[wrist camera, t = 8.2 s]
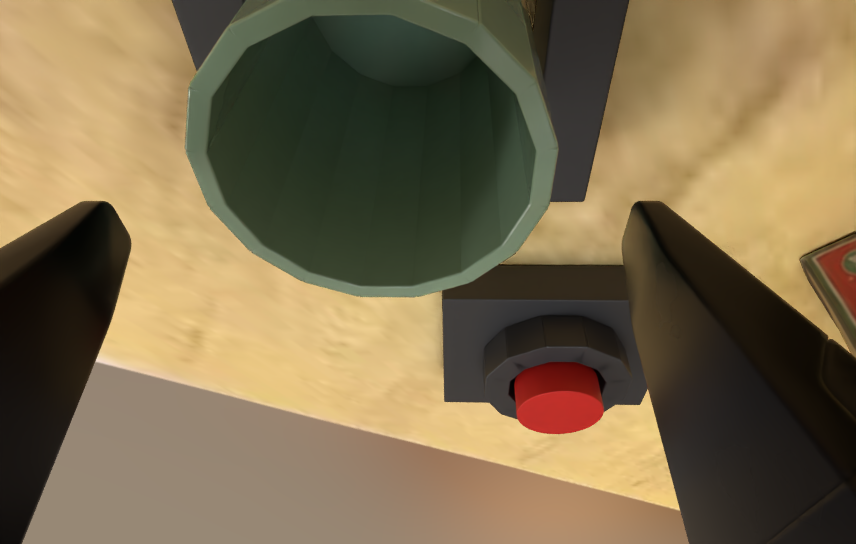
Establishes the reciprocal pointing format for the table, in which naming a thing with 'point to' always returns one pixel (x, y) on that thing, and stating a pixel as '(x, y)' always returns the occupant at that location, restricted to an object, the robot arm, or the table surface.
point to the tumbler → (375, 139)
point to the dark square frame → (559, 59)
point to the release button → (558, 397)
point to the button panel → (539, 332)
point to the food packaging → (836, 284)
